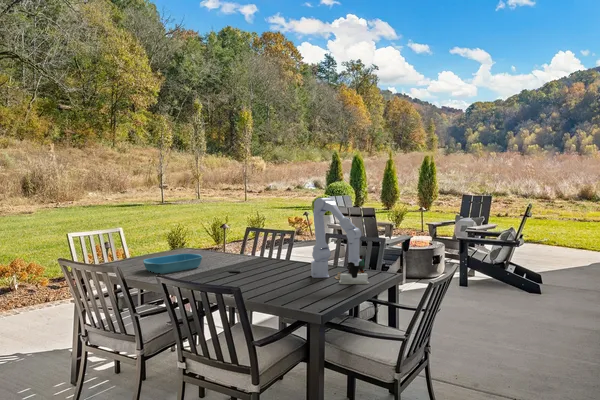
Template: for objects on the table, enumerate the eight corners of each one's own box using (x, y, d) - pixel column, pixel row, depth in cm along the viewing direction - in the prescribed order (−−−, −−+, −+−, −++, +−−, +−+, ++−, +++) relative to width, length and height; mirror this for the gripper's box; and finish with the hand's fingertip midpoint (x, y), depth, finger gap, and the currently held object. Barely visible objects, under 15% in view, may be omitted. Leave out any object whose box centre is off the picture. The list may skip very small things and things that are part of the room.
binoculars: (344, 257, 248) (352, 253, 256) (345, 275, 249) (353, 270, 257) (358, 258, 243) (366, 254, 251) (359, 276, 244) (367, 272, 252)
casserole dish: (155, 276, 240) (155, 264, 240) (135, 271, 255) (135, 259, 255) (209, 267, 268) (209, 255, 268) (188, 262, 283) (188, 252, 283)
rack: (336, 279, 234) (336, 274, 234) (334, 277, 239) (334, 272, 238) (365, 279, 235) (365, 273, 235) (363, 277, 240) (363, 271, 240)
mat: (340, 284, 223) (340, 283, 223) (338, 281, 229) (338, 280, 229) (369, 283, 224) (369, 282, 224) (366, 280, 231) (366, 280, 231)
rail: (341, 282, 225) (341, 274, 225) (340, 281, 228) (340, 273, 227) (367, 282, 226) (367, 274, 226) (366, 280, 229) (366, 273, 228)
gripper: (364, 253, 219) (364, 279, 220) (358, 249, 234) (358, 273, 234) (350, 253, 219) (350, 280, 219) (345, 249, 233) (345, 274, 234)
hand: (353, 276), depth 227 cm, fingers open, 3 cm apart
